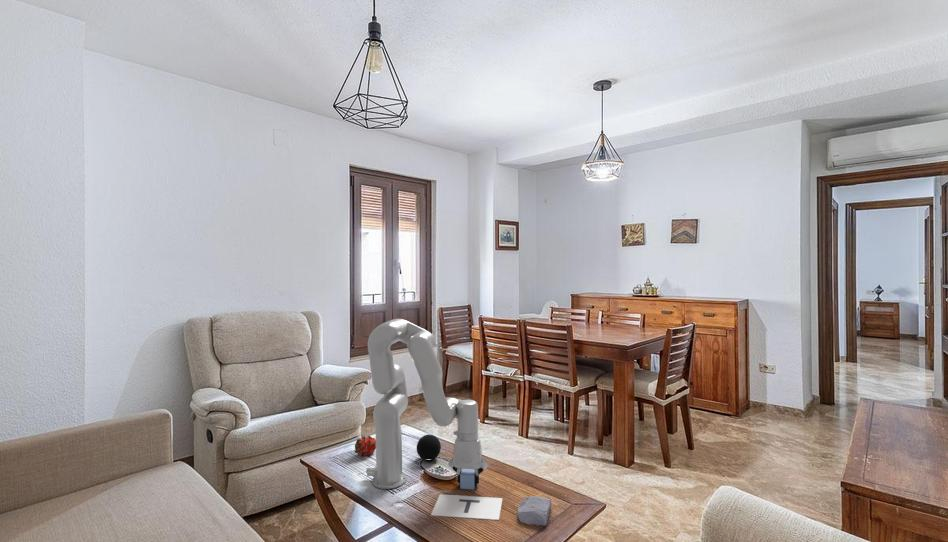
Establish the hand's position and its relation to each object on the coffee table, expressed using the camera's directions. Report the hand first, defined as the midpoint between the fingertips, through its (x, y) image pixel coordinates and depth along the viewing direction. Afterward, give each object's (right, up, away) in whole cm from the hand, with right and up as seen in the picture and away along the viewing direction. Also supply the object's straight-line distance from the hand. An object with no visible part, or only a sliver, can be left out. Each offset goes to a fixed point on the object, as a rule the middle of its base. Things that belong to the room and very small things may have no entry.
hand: (468, 484), depth 164 cm
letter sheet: (0, -1, -14) cm, 14 cm away
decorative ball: (-17, -1, +23) cm, 28 cm away
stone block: (+21, -1, -19) cm, 29 cm away
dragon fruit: (-44, -1, +29) cm, 53 cm away
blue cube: (0, -1, 0) cm, 1 cm away
